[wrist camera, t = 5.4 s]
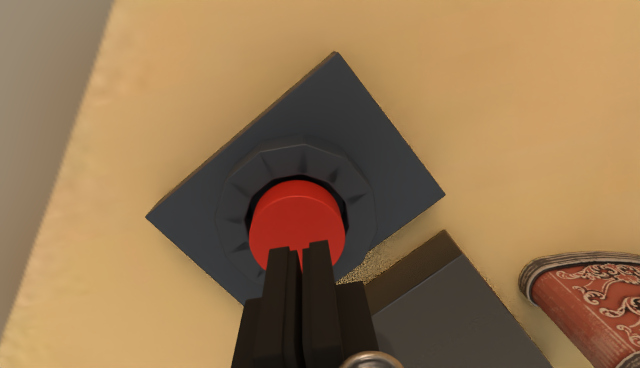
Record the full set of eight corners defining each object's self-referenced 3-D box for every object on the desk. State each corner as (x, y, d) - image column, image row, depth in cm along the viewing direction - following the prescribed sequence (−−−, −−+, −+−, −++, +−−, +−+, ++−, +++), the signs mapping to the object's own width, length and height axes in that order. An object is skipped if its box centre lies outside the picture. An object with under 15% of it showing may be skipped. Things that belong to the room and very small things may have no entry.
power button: (302, 161, 15) (303, 176, 14) (357, 224, 16) (364, 244, 15) (235, 216, 16) (228, 236, 14) (292, 272, 17) (292, 297, 15)
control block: (334, 50, 17) (343, 53, 14) (434, 182, 19) (462, 211, 16) (157, 202, 19) (127, 236, 16) (267, 305, 21) (262, 353, 18)
